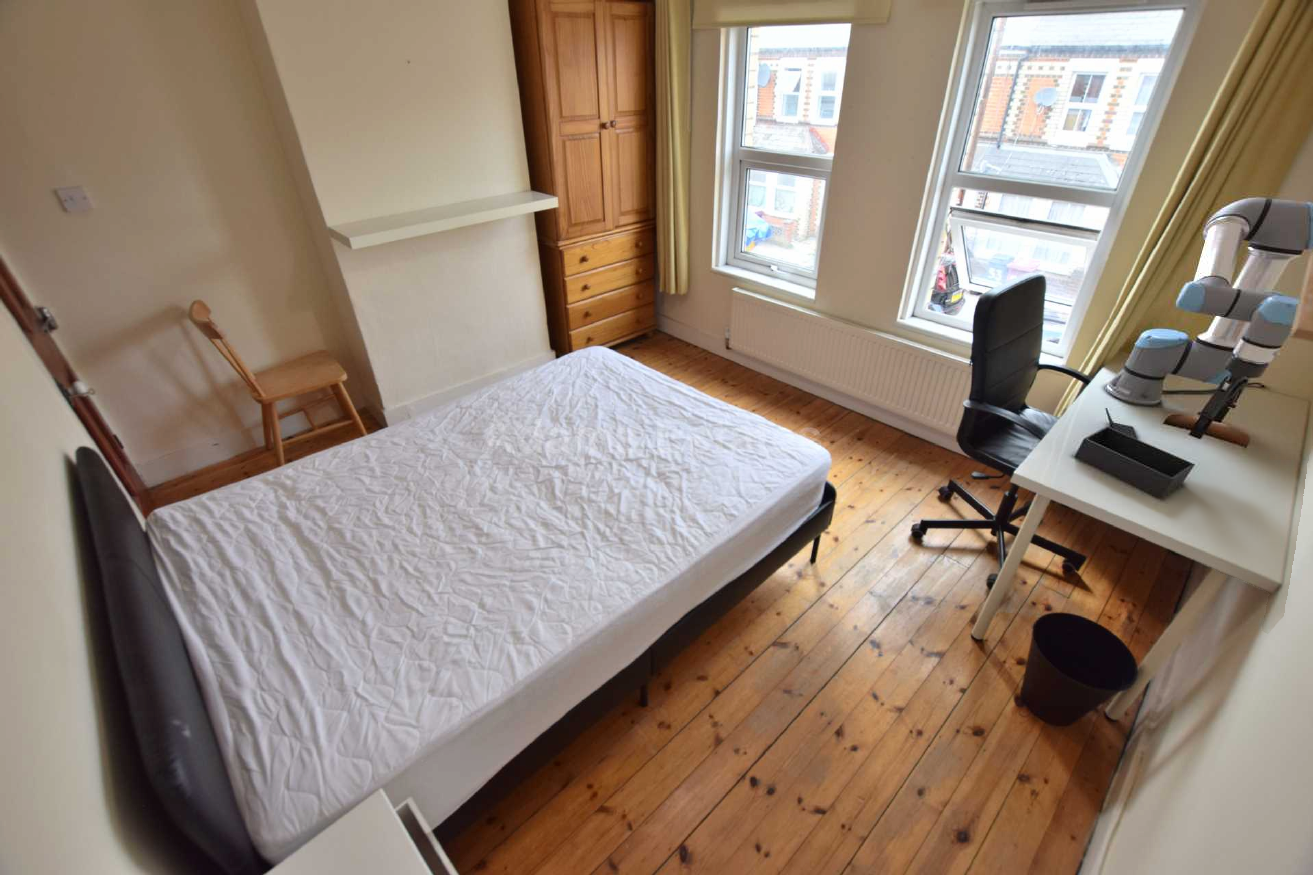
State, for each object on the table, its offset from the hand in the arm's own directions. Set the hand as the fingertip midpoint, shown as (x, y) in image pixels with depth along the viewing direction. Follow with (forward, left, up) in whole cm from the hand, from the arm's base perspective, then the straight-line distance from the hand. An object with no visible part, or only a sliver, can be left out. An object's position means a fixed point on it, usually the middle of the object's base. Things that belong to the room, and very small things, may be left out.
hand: (1202, 431), depth 159 cm
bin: (+17, -7, -11) cm, 21 cm away
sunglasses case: (0, 0, 0) cm, 0 cm away
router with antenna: (-2, -18, -12) cm, 21 cm away
